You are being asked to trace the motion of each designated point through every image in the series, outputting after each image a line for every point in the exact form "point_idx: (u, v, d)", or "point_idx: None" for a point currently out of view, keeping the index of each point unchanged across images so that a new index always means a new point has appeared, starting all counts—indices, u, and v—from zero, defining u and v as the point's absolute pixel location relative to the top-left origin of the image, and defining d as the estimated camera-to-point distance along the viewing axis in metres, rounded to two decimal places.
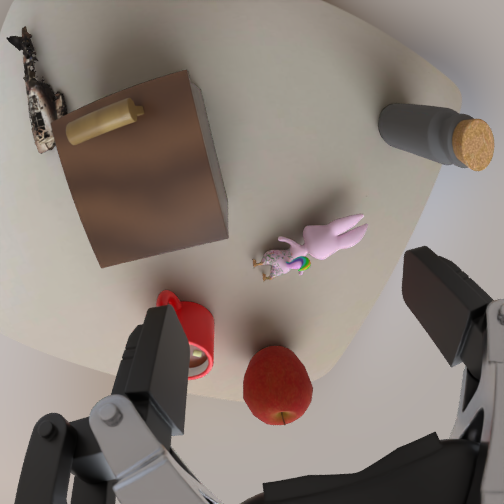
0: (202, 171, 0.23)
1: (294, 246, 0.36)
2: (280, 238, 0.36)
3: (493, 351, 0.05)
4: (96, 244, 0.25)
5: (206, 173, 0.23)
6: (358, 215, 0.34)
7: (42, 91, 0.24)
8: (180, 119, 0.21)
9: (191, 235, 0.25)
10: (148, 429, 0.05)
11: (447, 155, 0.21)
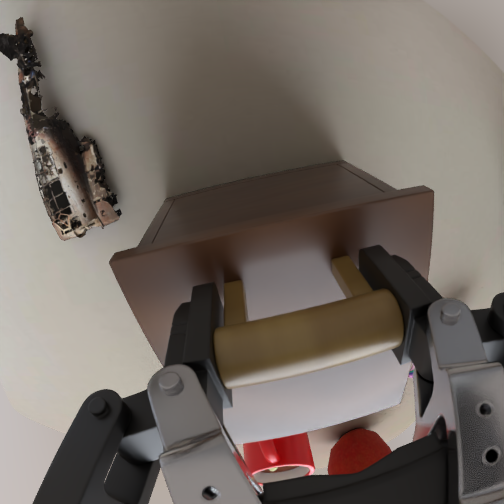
0: None
1: None
2: None
3: (442, 355, 0.05)
4: None
5: None
6: None
7: (57, 138, 0.15)
8: None
9: (361, 410, 0.16)
10: (209, 404, 0.05)
11: None
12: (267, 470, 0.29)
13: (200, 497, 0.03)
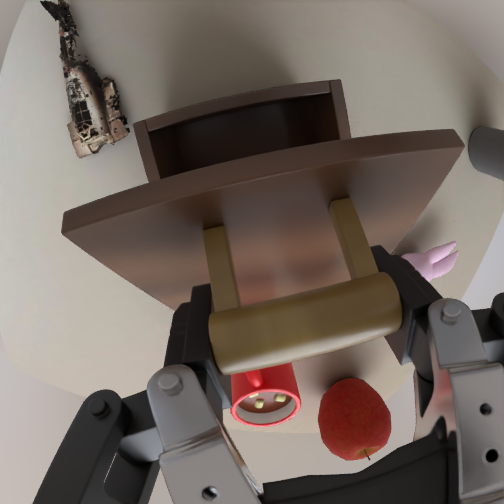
0: None
1: None
2: None
3: (443, 355, 0.05)
4: None
5: None
6: (453, 243, 0.28)
7: (86, 74, 0.20)
8: (400, 212, 0.11)
9: None
10: (208, 404, 0.05)
11: None
12: (253, 408, 0.32)
13: (199, 497, 0.03)
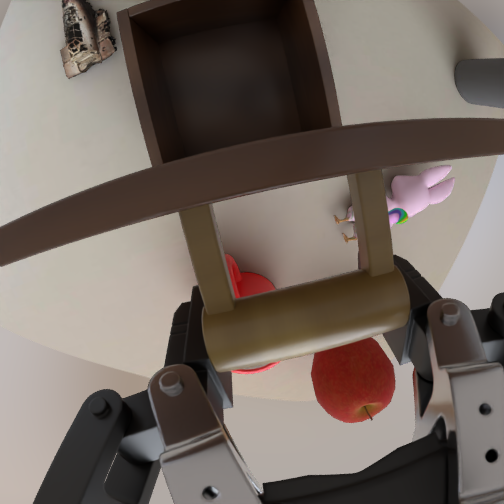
0: None
1: None
2: None
3: (442, 355, 0.05)
4: None
5: None
6: (448, 166, 0.26)
7: (82, 4, 0.17)
8: None
9: None
10: (209, 404, 0.05)
11: None
12: None
13: (200, 497, 0.03)
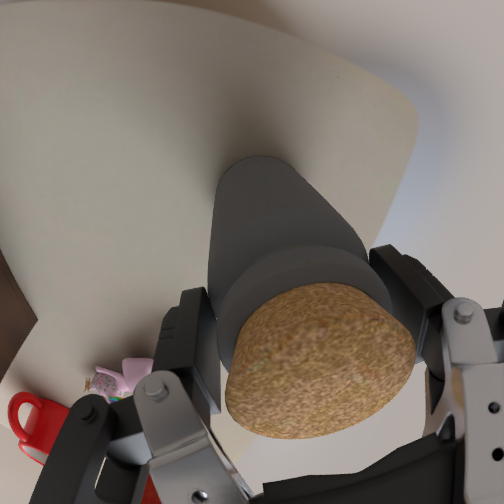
0: None
1: (117, 379, 0.24)
2: (97, 369, 0.23)
3: (454, 353, 0.05)
4: None
5: None
6: None
7: None
8: None
9: None
10: (194, 409, 0.05)
11: None
12: None
13: (189, 502, 0.03)
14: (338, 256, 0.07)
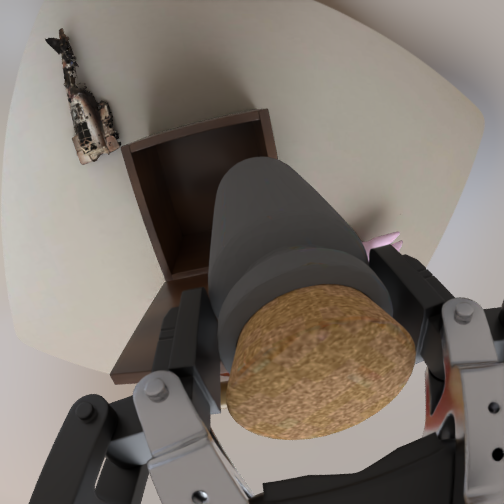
0: None
1: None
2: None
3: (455, 353, 0.05)
4: None
5: None
6: (395, 233, 0.36)
7: (86, 99, 0.26)
8: None
9: None
10: (194, 409, 0.05)
11: None
12: None
13: (190, 501, 0.03)
14: (339, 258, 0.07)
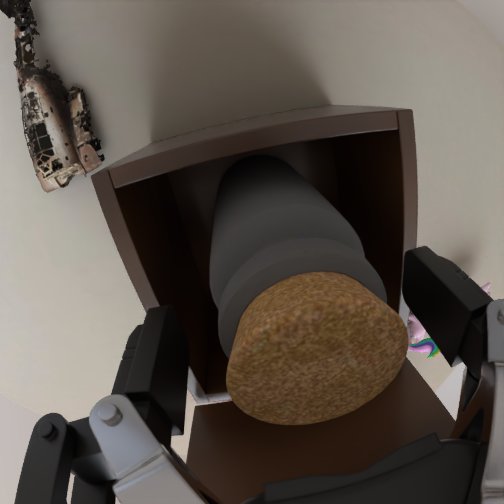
0: None
1: (418, 323, 0.26)
2: None
3: (493, 351, 0.05)
4: None
5: None
6: (487, 285, 0.23)
7: (46, 85, 0.14)
8: None
9: None
10: (148, 429, 0.05)
11: None
12: None
13: None
14: (333, 247, 0.08)
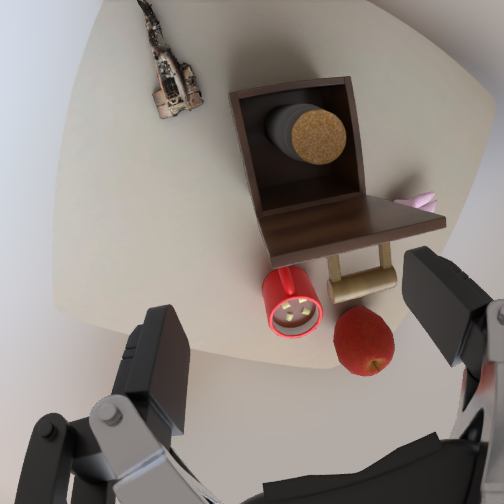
0: None
1: None
2: None
3: (493, 351, 0.05)
4: None
5: None
6: (432, 192, 0.39)
7: (172, 59, 0.30)
8: None
9: None
10: (148, 429, 0.05)
11: (291, 152, 0.26)
12: (284, 322, 0.44)
13: None
14: (319, 108, 0.24)
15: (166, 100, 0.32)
